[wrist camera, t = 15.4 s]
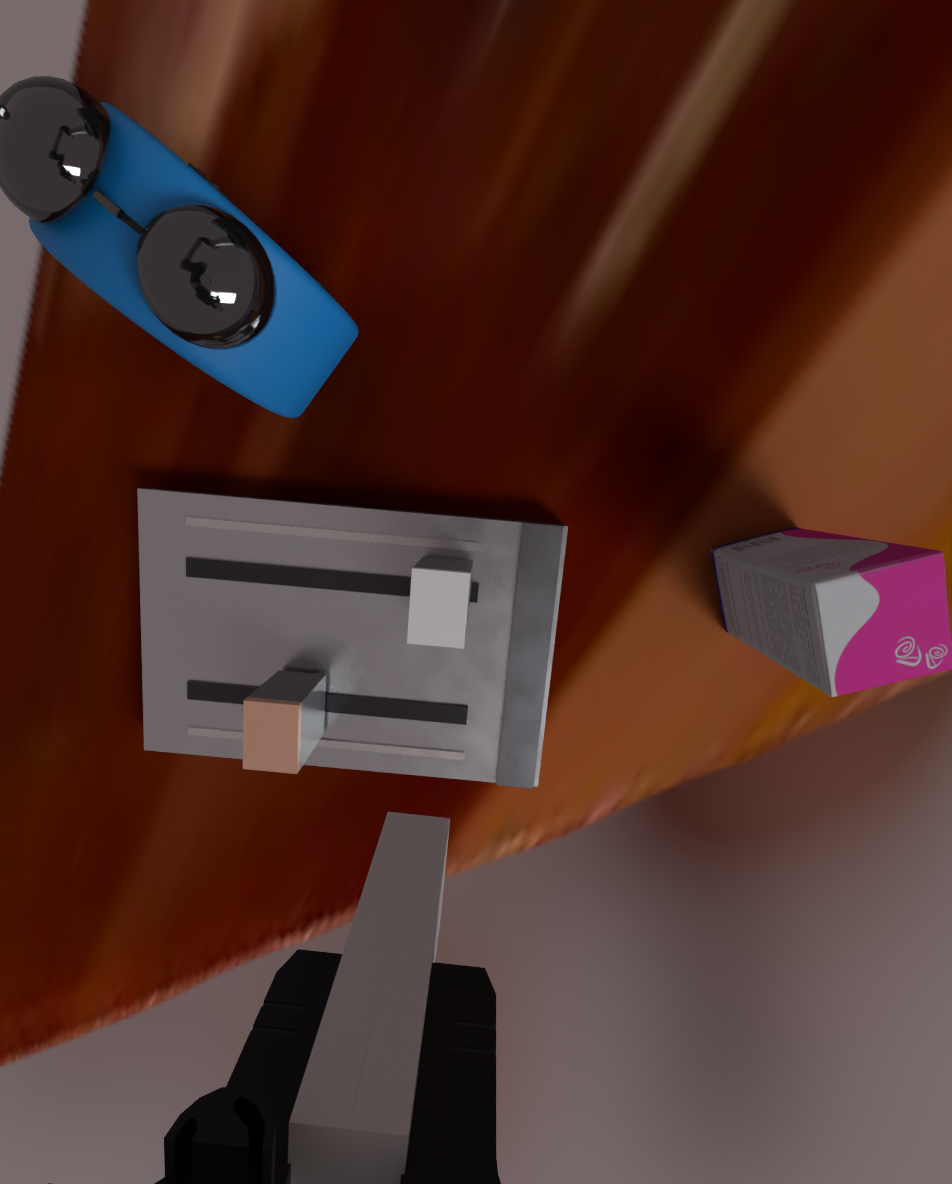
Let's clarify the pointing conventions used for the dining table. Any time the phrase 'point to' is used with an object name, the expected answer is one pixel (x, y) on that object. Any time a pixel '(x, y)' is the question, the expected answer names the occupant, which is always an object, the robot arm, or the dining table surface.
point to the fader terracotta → (283, 721)
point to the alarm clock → (167, 246)
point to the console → (346, 631)
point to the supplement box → (837, 607)
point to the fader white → (439, 602)
